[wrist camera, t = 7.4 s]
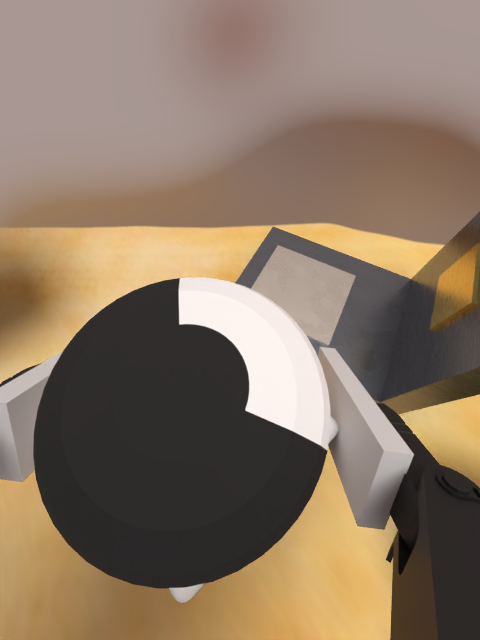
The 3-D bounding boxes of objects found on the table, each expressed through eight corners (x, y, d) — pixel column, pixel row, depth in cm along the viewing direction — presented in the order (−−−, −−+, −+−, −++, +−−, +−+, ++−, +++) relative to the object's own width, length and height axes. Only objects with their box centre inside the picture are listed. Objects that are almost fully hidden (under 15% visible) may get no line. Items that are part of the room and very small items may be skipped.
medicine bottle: (203, 536, 13) (84, 928, 2) (133, 423, 15) (-88, 361, 5) (298, 436, 15) (454, 407, 5) (224, 351, 18) (215, 202, 7)
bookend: (213, 331, 29) (196, 230, 16) (270, 243, 36) (291, 121, 23) (384, 417, 25) (549, 377, 12) (412, 299, 32) (537, 191, 19)
